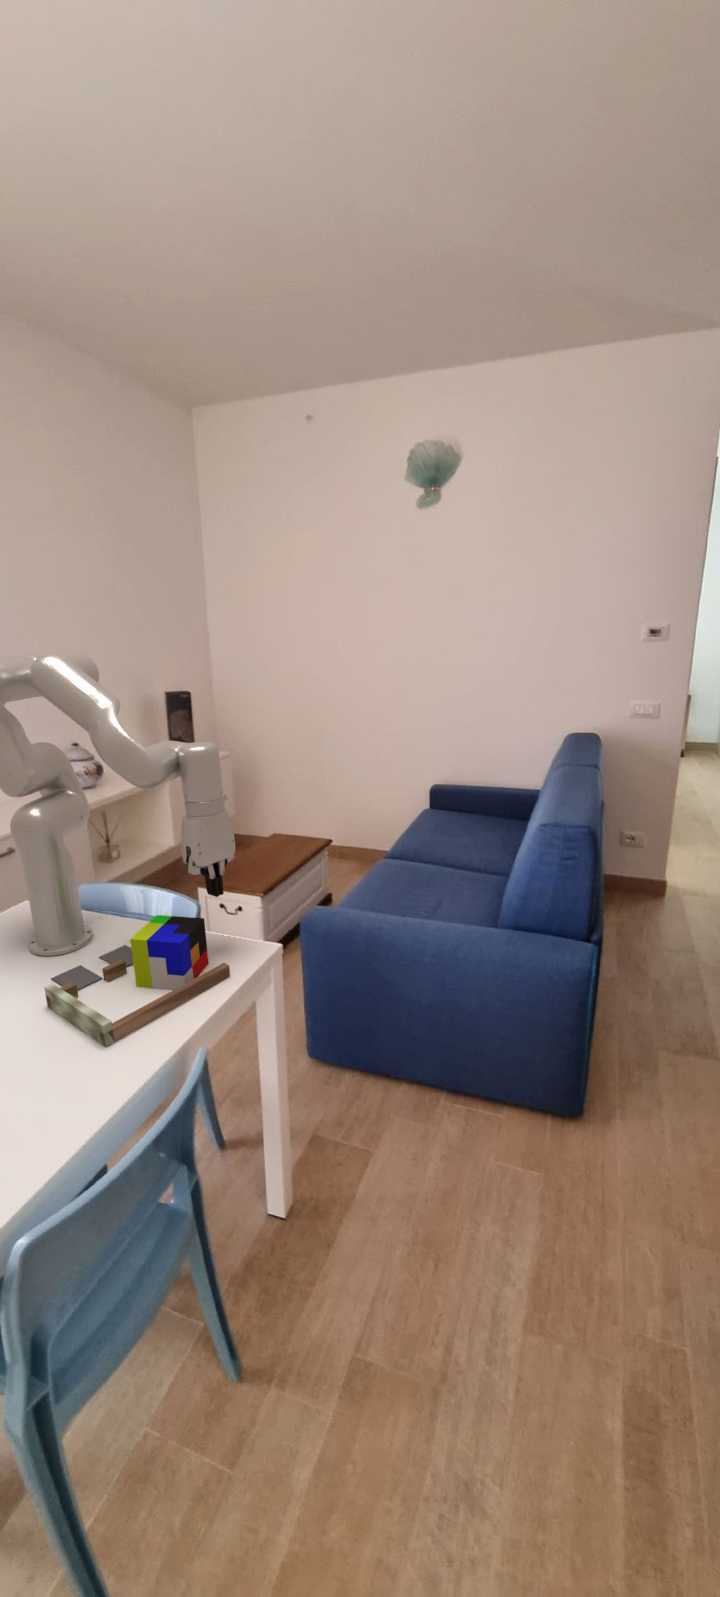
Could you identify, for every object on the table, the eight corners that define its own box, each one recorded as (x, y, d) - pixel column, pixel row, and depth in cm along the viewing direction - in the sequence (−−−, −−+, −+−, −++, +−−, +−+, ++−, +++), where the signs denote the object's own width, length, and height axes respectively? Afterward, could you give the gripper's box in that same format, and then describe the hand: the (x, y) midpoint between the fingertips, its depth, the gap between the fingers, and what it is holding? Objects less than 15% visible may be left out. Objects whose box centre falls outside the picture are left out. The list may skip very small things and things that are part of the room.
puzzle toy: (185, 991, 119) (180, 943, 116) (136, 987, 121) (130, 939, 118) (208, 964, 128) (204, 918, 126) (162, 960, 130) (157, 915, 128)
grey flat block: (51, 979, 124) (51, 978, 124) (80, 966, 129) (80, 965, 128) (72, 993, 119) (72, 991, 119) (102, 978, 124) (102, 977, 124)
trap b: (99, 957, 132) (98, 956, 131) (125, 946, 136) (125, 944, 136) (121, 970, 127) (121, 968, 127) (147, 957, 131) (147, 956, 131)
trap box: (47, 1006, 115) (44, 987, 114) (169, 948, 135) (167, 930, 134) (106, 1047, 104) (102, 1025, 103) (230, 976, 123) (228, 957, 122)
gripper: (222, 794, 132) (231, 878, 137) (160, 813, 121) (173, 903, 126) (247, 799, 128) (255, 885, 133) (185, 819, 116) (197, 912, 121)
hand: (215, 894), depth 129 cm, fingers closed
